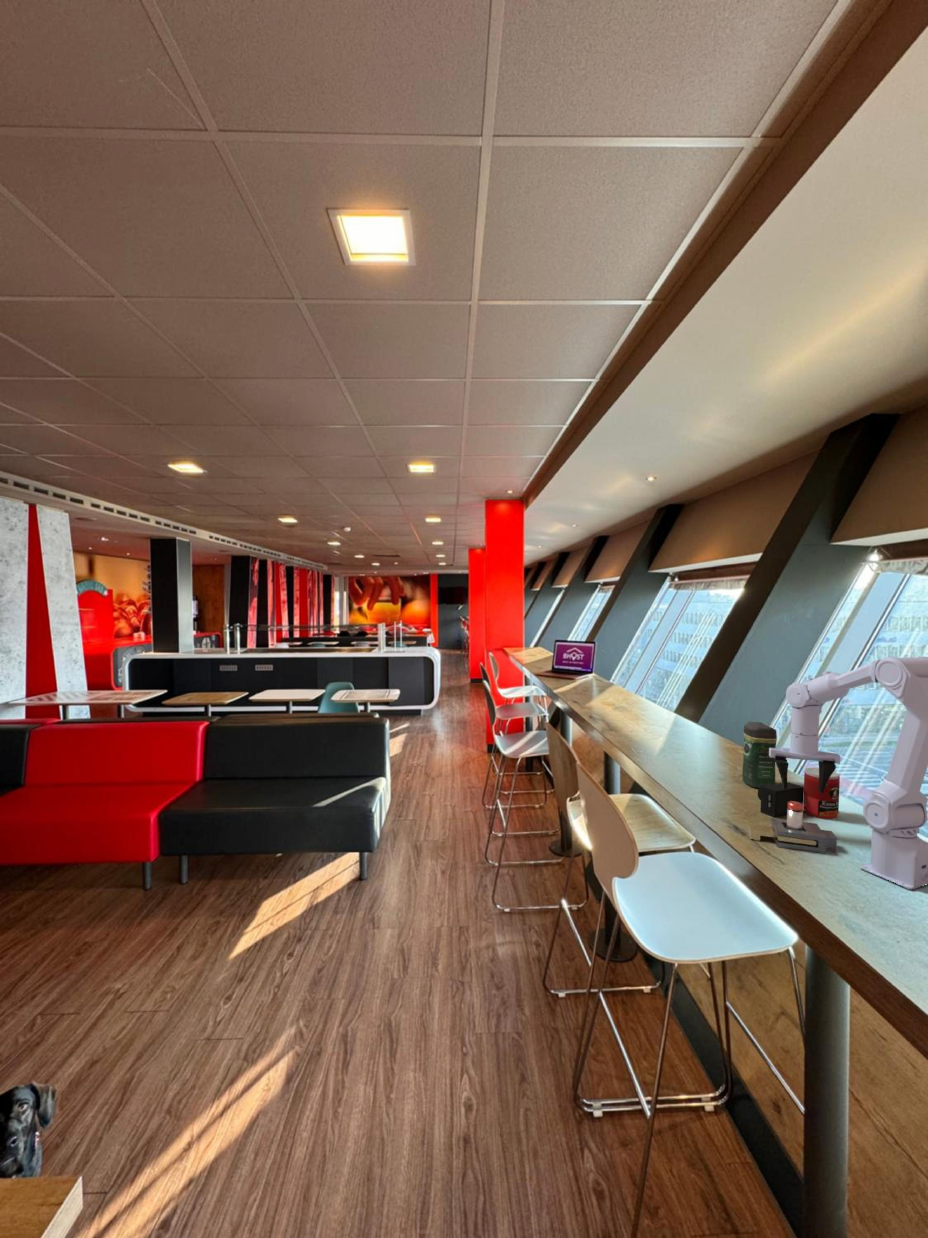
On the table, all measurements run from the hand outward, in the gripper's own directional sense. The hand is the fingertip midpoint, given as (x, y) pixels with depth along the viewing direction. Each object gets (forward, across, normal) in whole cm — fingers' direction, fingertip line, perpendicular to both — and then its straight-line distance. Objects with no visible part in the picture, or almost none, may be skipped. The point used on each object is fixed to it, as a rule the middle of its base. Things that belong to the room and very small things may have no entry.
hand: (802, 789), depth 135 cm
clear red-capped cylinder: (+10, +3, +8) cm, 13 cm away
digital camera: (+10, +2, -12) cm, 16 cm away
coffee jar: (+10, +4, -35) cm, 37 cm away
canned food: (+10, -7, -14) cm, 19 cm away
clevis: (+10, +3, +8) cm, 13 cm away
